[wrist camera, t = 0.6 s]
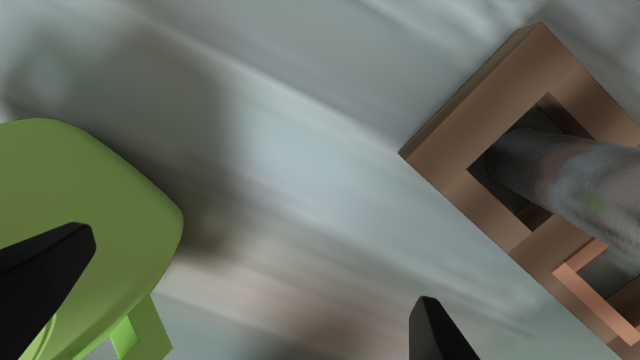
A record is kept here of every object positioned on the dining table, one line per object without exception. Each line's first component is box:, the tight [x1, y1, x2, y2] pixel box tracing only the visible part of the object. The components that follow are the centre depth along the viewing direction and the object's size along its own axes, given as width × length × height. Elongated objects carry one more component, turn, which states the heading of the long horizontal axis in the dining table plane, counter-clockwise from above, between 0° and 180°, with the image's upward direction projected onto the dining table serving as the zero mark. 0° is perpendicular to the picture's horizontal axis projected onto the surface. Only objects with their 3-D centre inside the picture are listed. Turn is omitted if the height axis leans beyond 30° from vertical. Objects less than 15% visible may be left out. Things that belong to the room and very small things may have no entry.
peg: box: [486, 127, 640, 263], centre depth 15 cm, size 4×4×13 cm
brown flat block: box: [398, 22, 640, 360], centre depth 21 cm, size 22×10×3 cm, turn 49°
